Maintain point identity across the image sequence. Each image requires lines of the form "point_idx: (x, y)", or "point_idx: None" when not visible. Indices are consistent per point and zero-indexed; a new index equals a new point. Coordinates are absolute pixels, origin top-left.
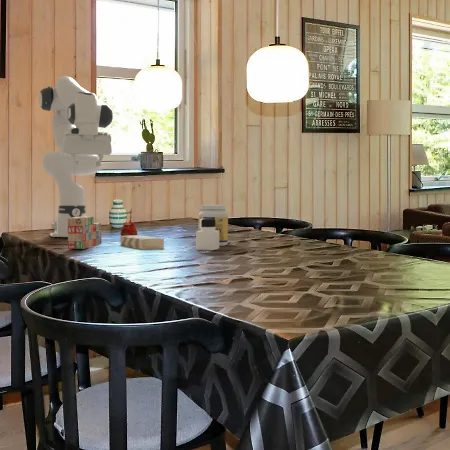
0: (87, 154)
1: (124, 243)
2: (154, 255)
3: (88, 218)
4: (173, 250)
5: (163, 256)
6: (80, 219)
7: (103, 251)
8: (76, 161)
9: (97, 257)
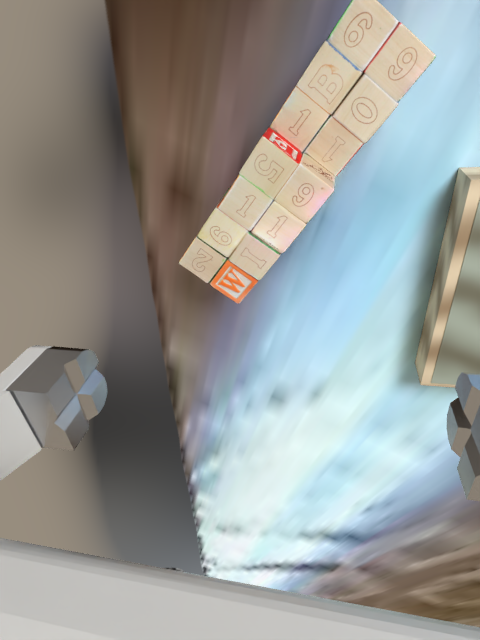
0: (241, 587)
1: (450, 220)
2: (352, 472)
3: (283, 250)
4: None
5: (357, 490)
6: (231, 295)
7: (287, 356)
8: (51, 437)
9: (232, 448)
